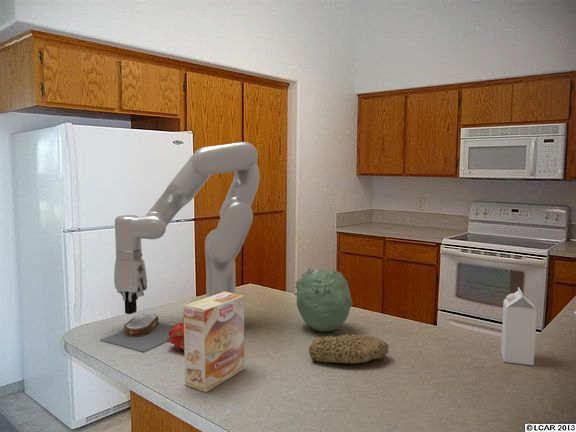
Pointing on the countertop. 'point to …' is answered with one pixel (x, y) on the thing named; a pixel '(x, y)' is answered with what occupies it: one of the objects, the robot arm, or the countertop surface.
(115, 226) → the robot arm
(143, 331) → the tin
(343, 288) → the cabbage
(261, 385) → the countertop surface
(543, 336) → the countertop surface
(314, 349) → the sponge
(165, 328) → the mat
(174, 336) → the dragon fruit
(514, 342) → the milk carton
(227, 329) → the coffeecake box
